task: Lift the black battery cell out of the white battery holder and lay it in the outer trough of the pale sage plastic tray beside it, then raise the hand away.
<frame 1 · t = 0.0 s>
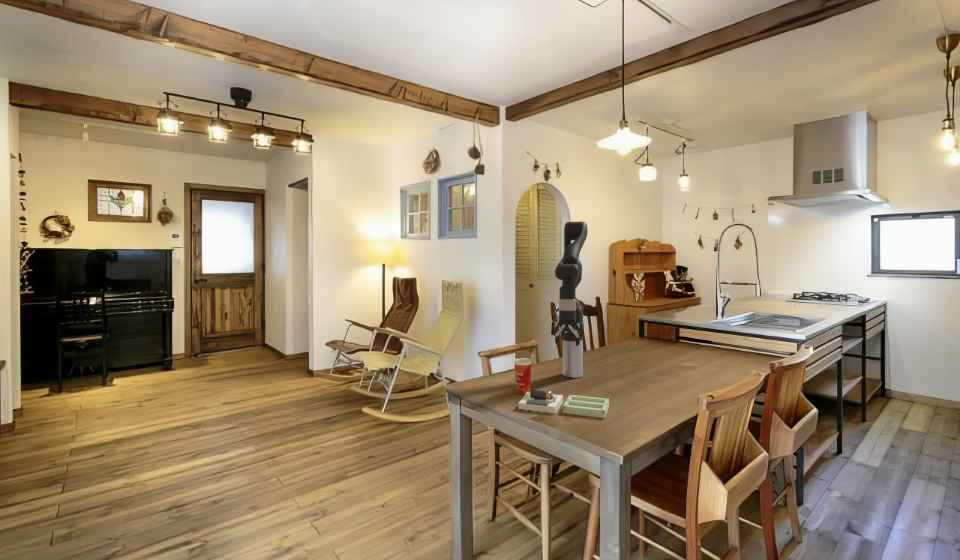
hand: (567, 345, 202), 17 cm above the table, tool pointing down, fingers open, 8 cm apart
white battery holder: (541, 405, 175), on the table
tray: (586, 409, 170), on the table
paper cup: (523, 393, 191), on the table
cell: (541, 398, 175), point 3 cm above the table, touching white battery holder
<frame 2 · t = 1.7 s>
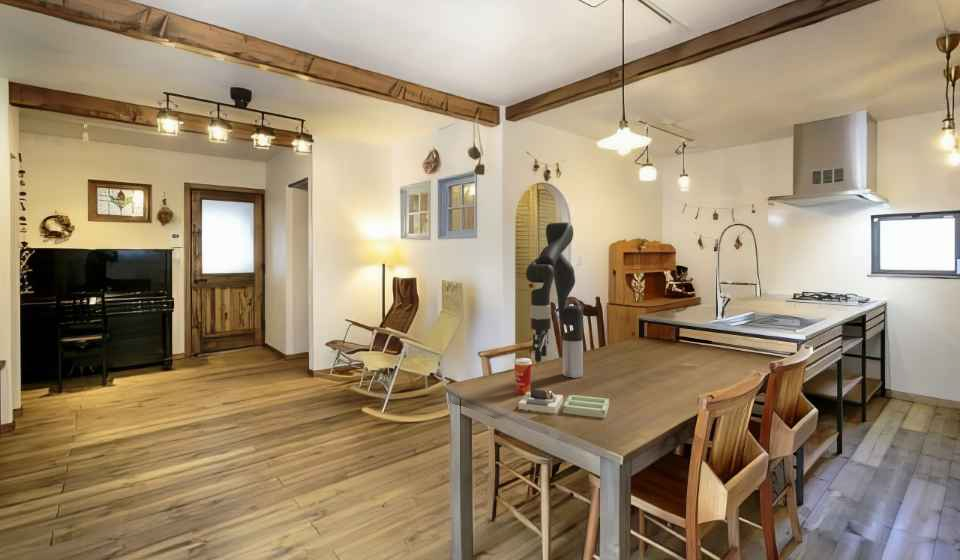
hand: (540, 358, 174), 18 cm above the table, tool pointing down, fingers open, 8 cm apart
cell: (541, 398, 175), point 3 cm above the table, tilted 25°, touching white battery holder
everything else where it was.
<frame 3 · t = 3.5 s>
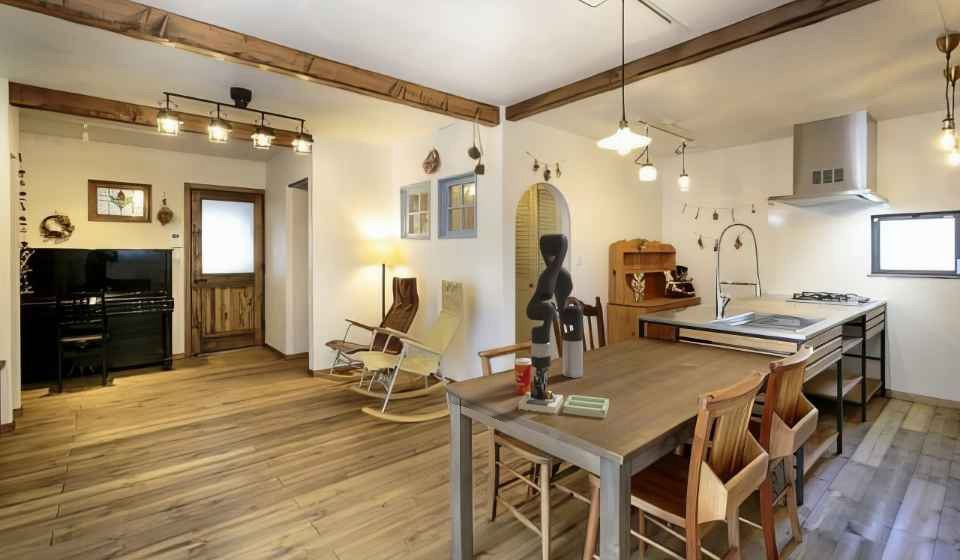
hand: (541, 397, 175), 3 cm above the table, tool pointing down, fingers closed on cell, 3 cm apart
cell: (541, 398, 175), point 3 cm above the table, tilted 20°, touching white battery holder, gripper
everything else where it was.
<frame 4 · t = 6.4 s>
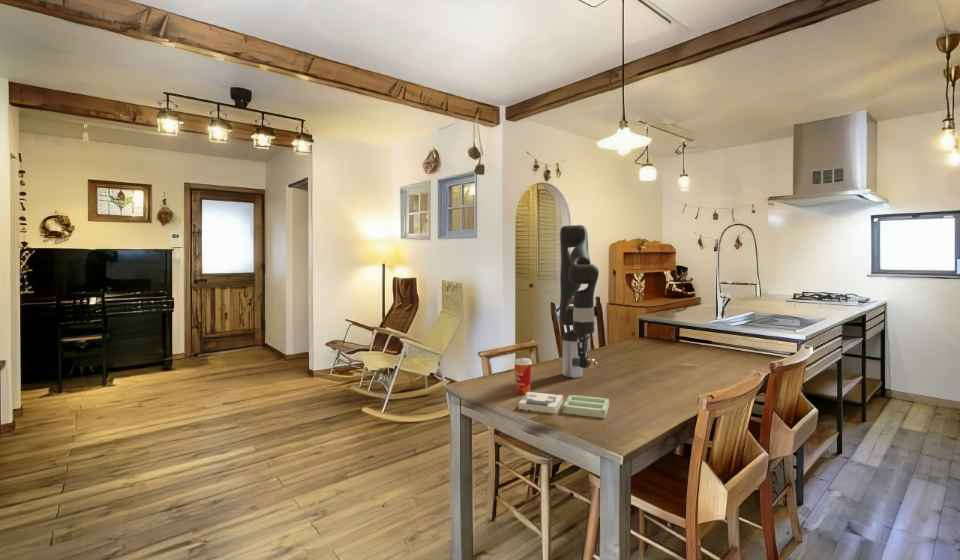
hand: (583, 366, 166), 17 cm above the table, tool pointing down, fingers closed on cell, 3 cm apart
cell: (583, 367, 165), point 17 cm above the table, tilted 20°, touching gripper
everything else where it was.
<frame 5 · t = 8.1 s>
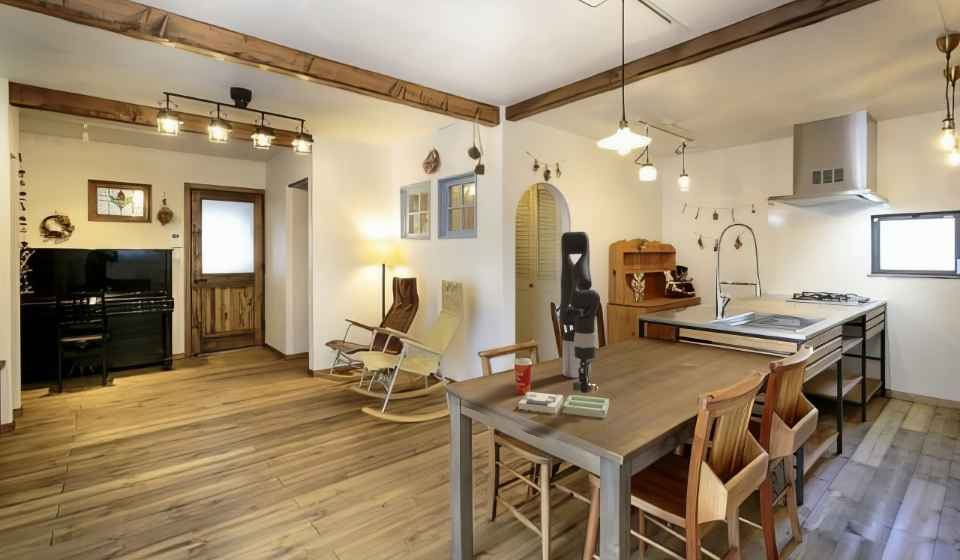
hand: (585, 390, 166), 8 cm above the table, tool pointing down, fingers closed on cell, 3 cm apart
cell: (584, 392, 166), point 8 cm above the table, tilted 20°, touching gripper
everything else where it was.
when the fingers open (3 cm above the table, at t = 9.3 s): cell drops 1 cm, resting on tray.
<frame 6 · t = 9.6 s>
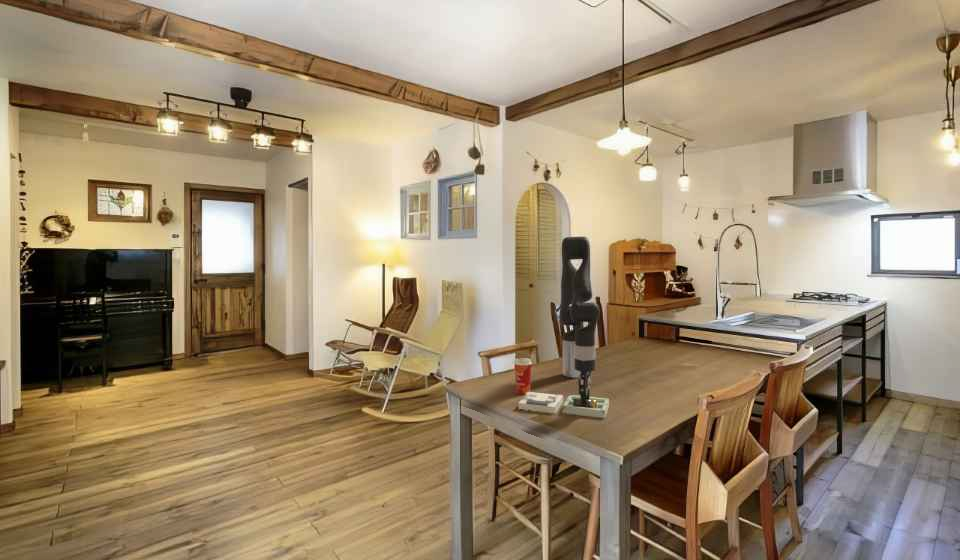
hand: (585, 402, 167), 4 cm above the table, tool pointing down, fingers open, 5 cm apart
cell: (584, 408, 166), point 2 cm above the table, tilted 19°, touching tray
everything else where it was.
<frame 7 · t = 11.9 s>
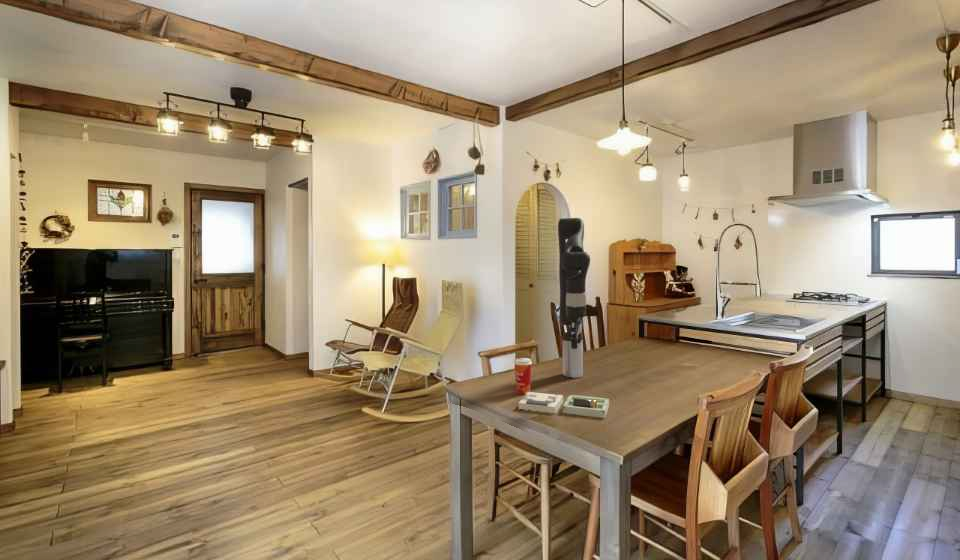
hand: (576, 345, 175), 23 cm above the table, tool pointing down, fingers open, 8 cm apart
nothing on the table moved.
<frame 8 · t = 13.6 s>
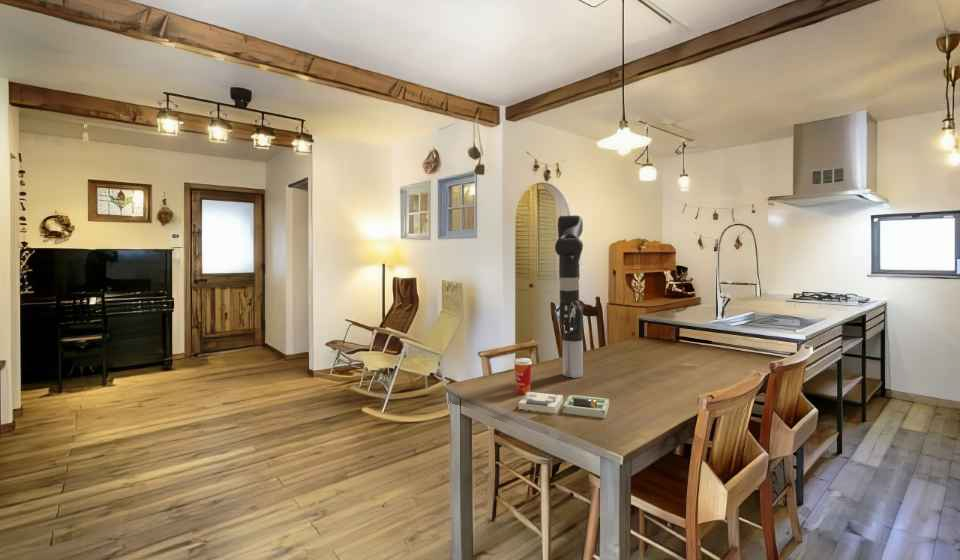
hand: (569, 329, 180), 28 cm above the table, tool pointing down, fingers open, 8 cm apart
cell: (584, 408, 166), point 2 cm above the table, tilted 30°, touching tray
everything else where it was.
at the end: cell 0.4 cm from the target spot on the tray, point 1.7 cm above the tray's base; the gripper is holding nothing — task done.
